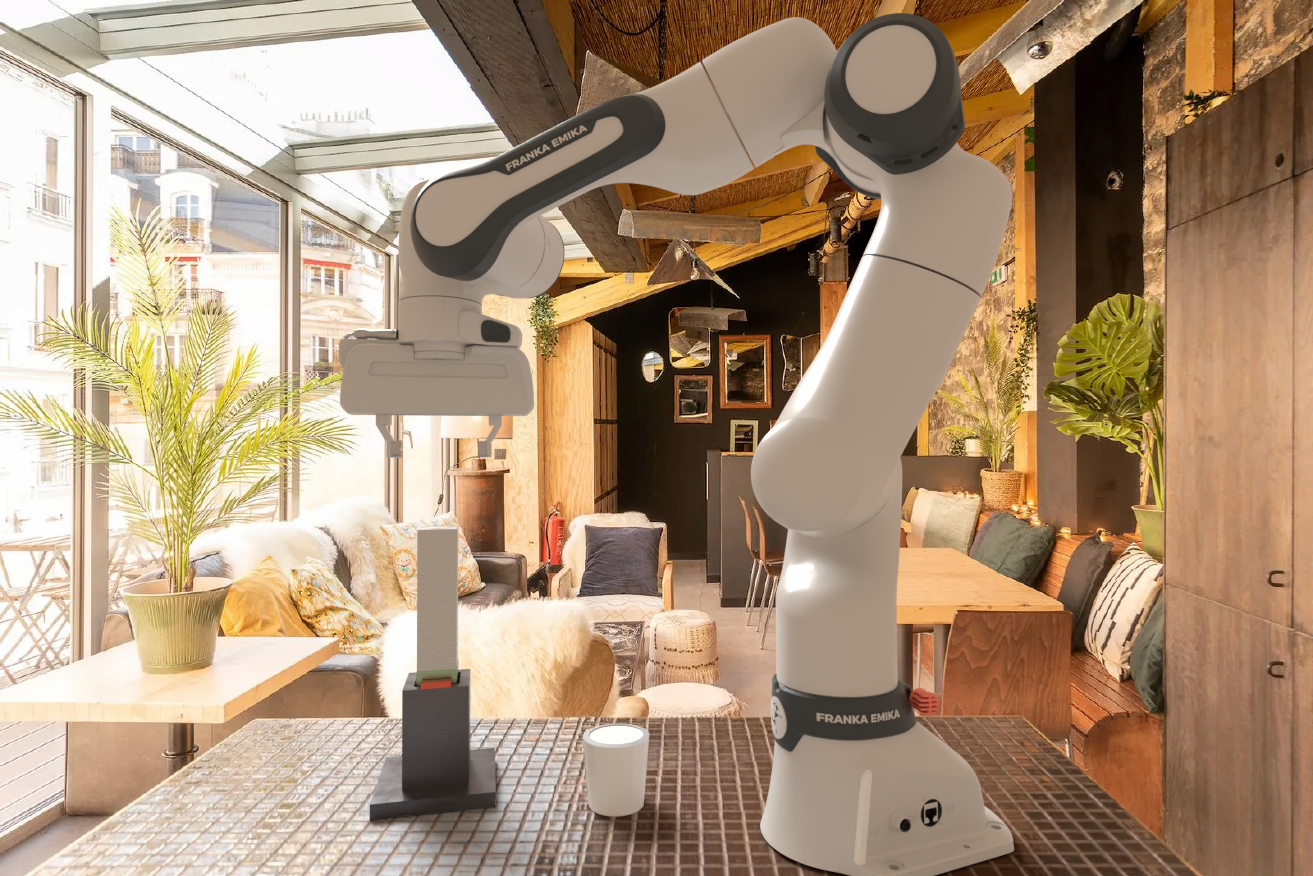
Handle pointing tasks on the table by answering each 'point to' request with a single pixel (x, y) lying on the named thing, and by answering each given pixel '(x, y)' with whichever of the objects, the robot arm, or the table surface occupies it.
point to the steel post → (437, 604)
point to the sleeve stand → (435, 755)
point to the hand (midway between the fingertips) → (440, 457)
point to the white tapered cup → (616, 768)
